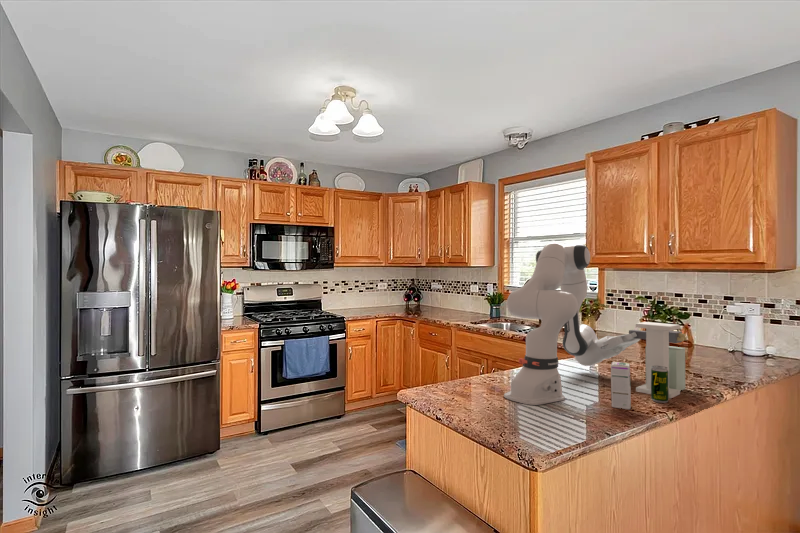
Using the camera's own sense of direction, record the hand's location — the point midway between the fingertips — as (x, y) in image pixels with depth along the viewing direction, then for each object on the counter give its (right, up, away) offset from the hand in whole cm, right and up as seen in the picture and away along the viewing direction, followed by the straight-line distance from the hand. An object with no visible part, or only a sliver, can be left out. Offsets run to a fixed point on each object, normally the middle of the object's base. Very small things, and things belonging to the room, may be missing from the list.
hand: (639, 333), depth 179 cm
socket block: (+6, -20, -8) cm, 23 cm away
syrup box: (-24, -20, -32) cm, 44 cm away
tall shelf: (-1, -20, -15) cm, 25 cm away
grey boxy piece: (+4, -2, -5) cm, 7 cm away
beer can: (-7, -20, -25) cm, 33 cm away
